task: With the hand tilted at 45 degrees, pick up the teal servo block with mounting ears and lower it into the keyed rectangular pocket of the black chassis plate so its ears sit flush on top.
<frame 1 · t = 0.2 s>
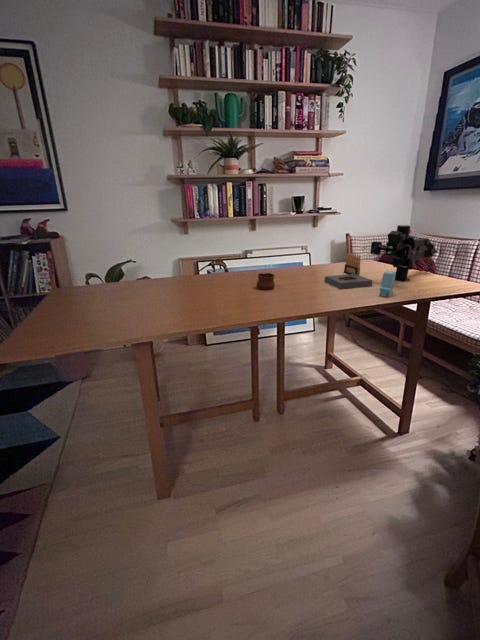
hand: (380, 252, 148), 17 cm above the table, tool horizontal, fingers open, 9 cm apart
ammunition clip: (351, 275, 178), on the table
ceramic pot: (265, 289, 152), on the table
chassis: (347, 284, 159), on the table
servo: (385, 294, 143), on the table
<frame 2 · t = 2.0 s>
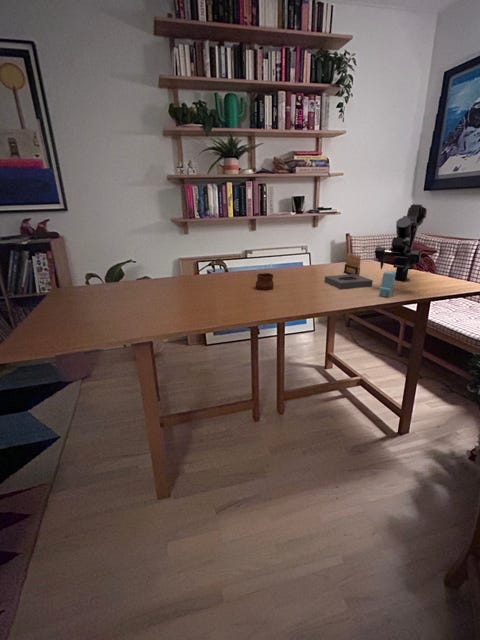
hand: (391, 269, 142), 11 cm above the table, tool tilted 45°, fingers open, 9 cm apart
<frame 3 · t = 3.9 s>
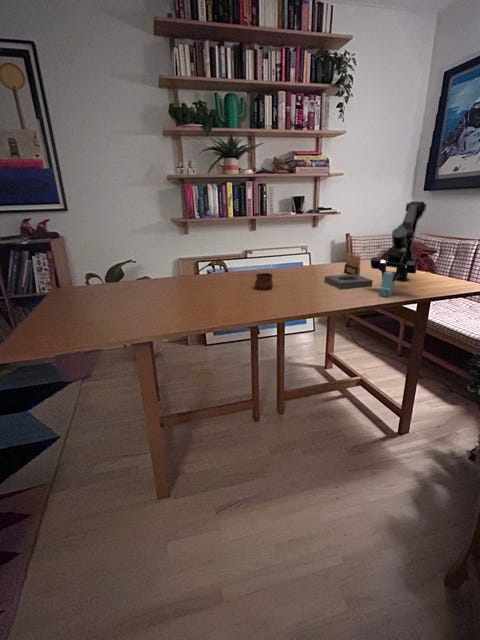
hand: (387, 280, 140), 7 cm above the table, tool tilted 45°, fingers closed on servo, 4 cm apart
servo: (385, 294, 143), on the table, touching gripper
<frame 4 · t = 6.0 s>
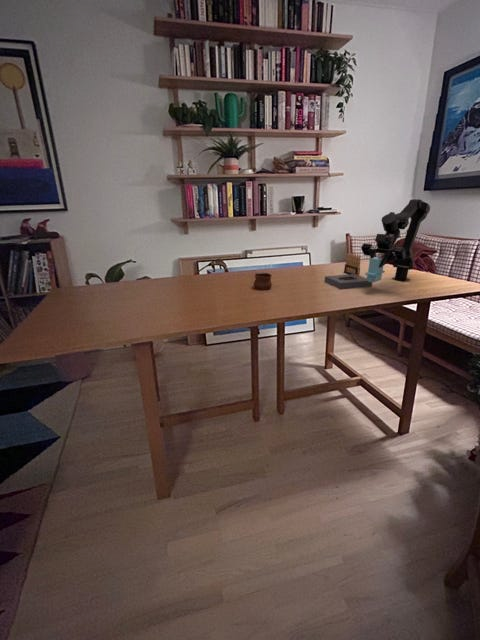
hand: (374, 266, 142), 12 cm above the table, tool tilted 45°, fingers closed on servo, 4 cm apart
servo: (373, 280, 145), point 5 cm above the table, touching gripper
when the fingers open (8 cm above the table, at t = 8.4 s): servo stays where it is, resting in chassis.
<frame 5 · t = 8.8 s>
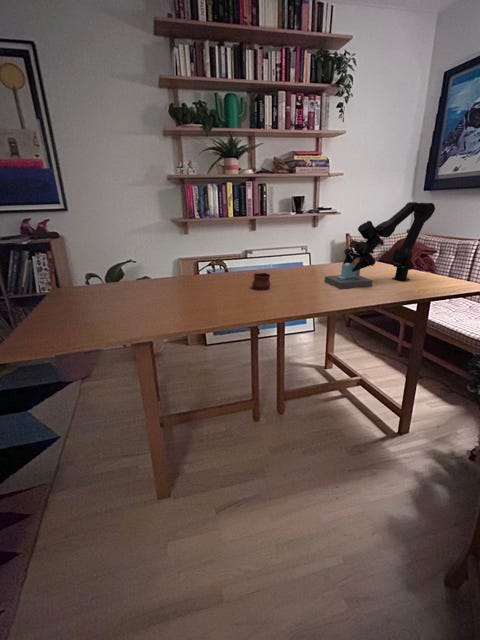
hand: (347, 269, 156), 8 cm above the table, tool tilted 45°, fingers open, 8 cm apart
servo: (347, 284, 159), resting in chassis
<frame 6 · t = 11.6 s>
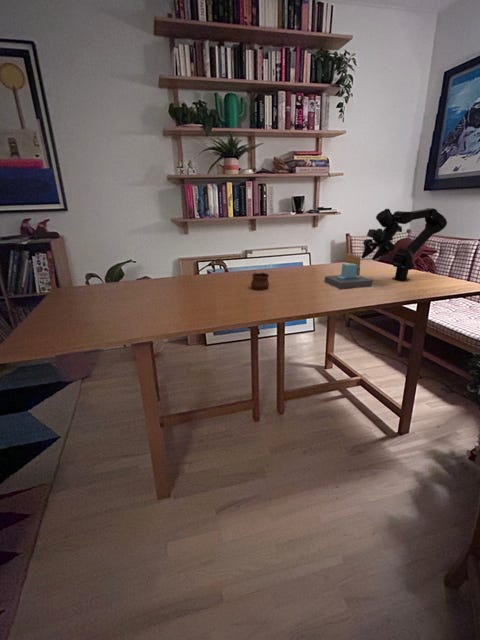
hand: (367, 258, 156), 12 cm above the table, tool tilted 40°, fingers open, 9 cm apart
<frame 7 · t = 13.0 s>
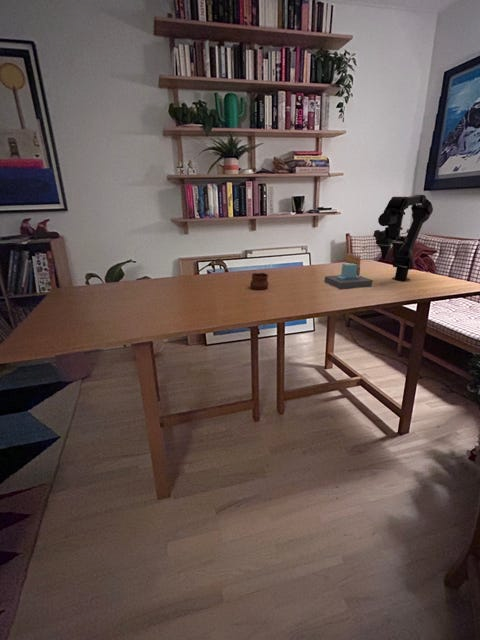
hand: (388, 258, 155), 13 cm above the table, tool pointing down, fingers open, 9 cm apart
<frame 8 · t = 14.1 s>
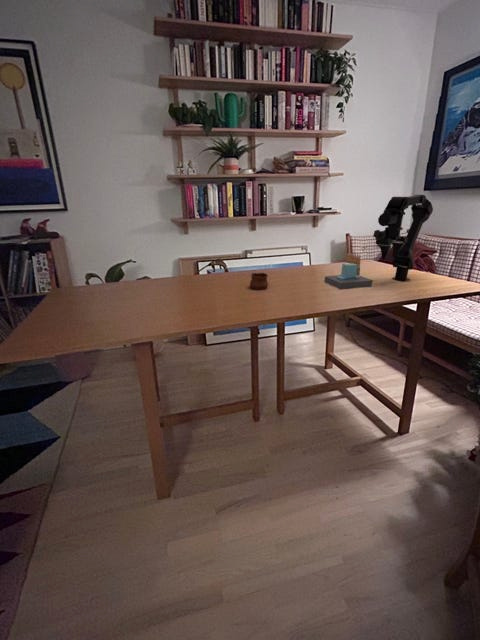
hand: (388, 258, 155), 13 cm above the table, tool pointing down, fingers open, 9 cm apart
at the end: servo 0.0 cm off-centre on the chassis, point 0.0 cm above the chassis's base; servo tilted 0°; the gripper is holding nothing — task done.
